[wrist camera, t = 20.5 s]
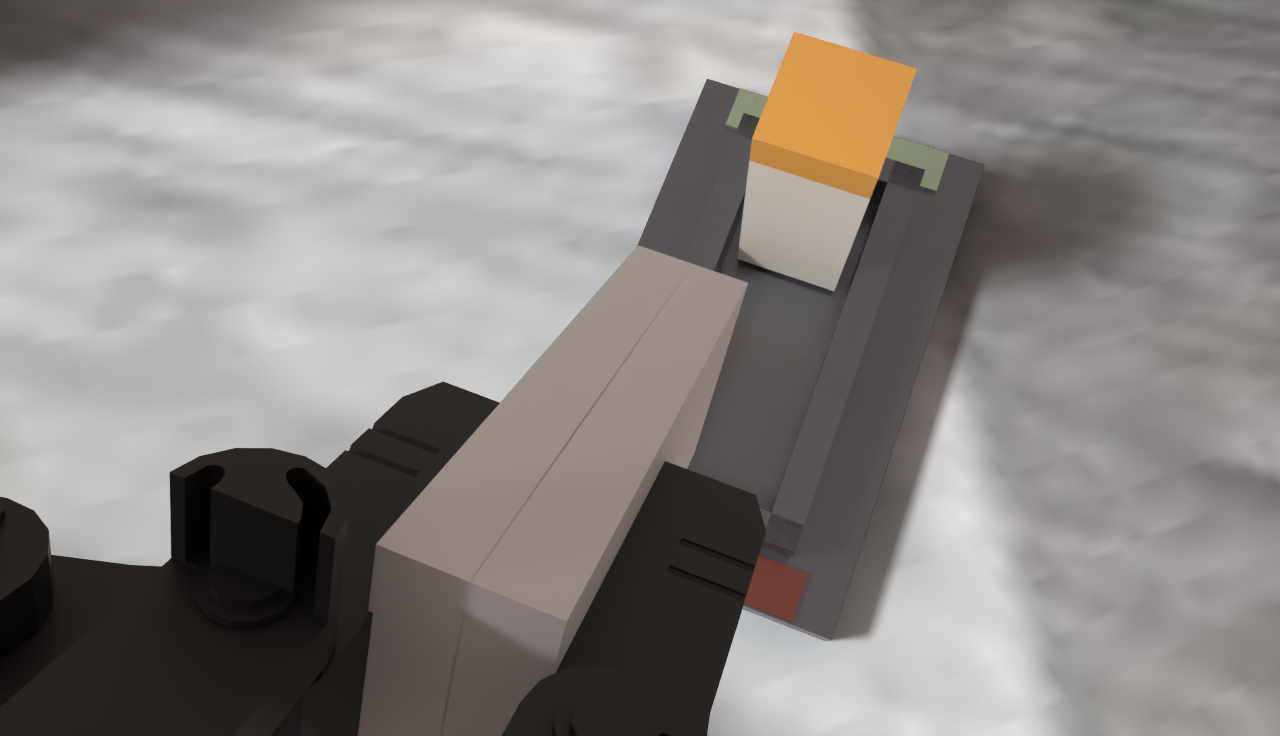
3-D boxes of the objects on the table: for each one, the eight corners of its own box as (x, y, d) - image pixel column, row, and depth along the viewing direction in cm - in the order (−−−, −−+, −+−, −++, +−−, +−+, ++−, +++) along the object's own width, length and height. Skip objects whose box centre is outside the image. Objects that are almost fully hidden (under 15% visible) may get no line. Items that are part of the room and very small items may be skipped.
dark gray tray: (825, 640, 37) (839, 638, 33) (529, 525, 38) (513, 511, 35) (974, 181, 42) (999, 139, 38) (706, 98, 43) (707, 50, 40)
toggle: (834, 291, 39) (878, 178, 30) (737, 258, 39) (751, 138, 30) (865, 203, 40) (917, 68, 31) (770, 173, 40) (794, 31, 31)
